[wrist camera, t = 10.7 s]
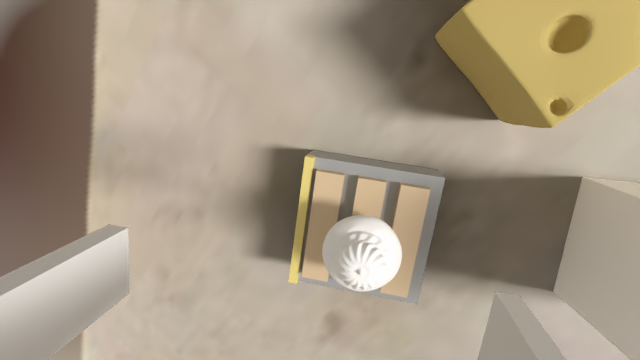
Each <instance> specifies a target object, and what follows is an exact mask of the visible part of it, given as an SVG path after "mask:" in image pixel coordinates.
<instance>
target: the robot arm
mask: <svg viewBox="0 0 640 360" xmlns="http://www.w3.org/2000/svg"><path fill="white" fill-rule="evenodd" d="M128 294H129V250H128V228H127V227H121V226H116V225H110V224H109V225H107V226H105V227H103V228H101V229H99V230H97V231H94V232H92V233H90V234H88V235H86V236H84V237H82V238H80V239H78V240H76V241H74V242H72V243H70V244H68V245H66V246H64V247H62V248H59V249H57V250H56V251H53V252H51V253H49V254H47V255H45V256H43V257H41V258H39V259H37V260H35V261H33V262H31V263H29V264H27V265H25V266H22V267H20V268H18V269H16V270H14V271H12V272H10V273H8V274H6V275H4V276H2V277H0V360H47V359H49V358H50V357H51V356H52V355H54V354H55V353H56V352H57V351H59V350H60V349H61V348H62V347H63V346H65V345H66V344H67V343H69V342H70V341H71V340H72V339H73V338H75V337H76V336H77V335H78V334H80V333H81V332H82V331H83V330H85V329H86V328H87V327H88V326H90V325H91V324H92V323H93V322H95V321H96V320H97V319H98V318H99V317H101V316H102V315H103V314H104V313H106V312H107V311H108V310H109V309H111V308H112V307H113V306H114V305H116V304H117V303H118V302H119V301H121V300H122V299H123V298H124V297H125V296H127V295H128ZM478 360H566V358H565V357H564V356H563V354H562V353H561V351H560V350H559V349H558V347H557V346H556V345H555V343H554V342H553V340H552V339H551V338H550V336H549V335H548V334H547V332H546V331H545V330H544V328H543V327H542V325H541V324H540V323H539V321H538V320H537V319H536V317H535V316H534V314H533V313H532V312H531V310H530V309H529V308H528V306H527V305H526V303H525V302H524V301H523V299H522V298H521V297H520V296H518V295H512V294H506V293H501V292H495V296H494V299H493V303H492V307H491V311H490V314H489V318H488V322H487V326H486V330H485V333H484V337H483V341H482V345H481V348H480V352H479V356H478Z"/></svg>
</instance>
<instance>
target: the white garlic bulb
mask: <svg viewBox="0 0 640 360" xmlns="http://www.w3.org/2000/svg"><path fill="white" fill-rule="evenodd" d="M322 255H323V261H324V264H325V267H326V269H327V271H328V272H329V274H330V275H331V277H332V278H333V279H334V280H335V281H336V282H337V283H339V284H340V285H342V286H343V287H345V288H348V289H351V290H354V291H371V290H375V289H378V288H380V287H382V286H384V285H385V284H387V283H388V282H390V281H391V280H392V279H393V278H394V277H395V275H396V274H397V272H398V270H399V268H400V265H401V261H402V248H401V244H400V242H399V239H398V237H397V235H396V234H395V232H394V231H393V230H392V228H391V227H390V226H389V225H388V224H386V223H385V222H384V221H382V220H381V219H379V218H376V217H373V216H367V215H356V216H351V217H347V218H345V219H342V220H340V221H339V222H337V223H336V224H335V225H334V226H333V227H332V228H331V229H330V230H329V232H328V233H327V235H326V237H325V240H324V243H323V248H322Z"/></svg>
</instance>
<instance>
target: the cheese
mask: <svg viewBox="0 0 640 360" xmlns="http://www.w3.org/2000/svg"><path fill="white" fill-rule="evenodd" d="M435 39H436V41H437V42H438V43H439V45H440V46H441V47H442V49H443V50H444V51H445V53H446V54H447V55H448V56H449V58H450V59H451V60H452V61H453V62H454V63H455V65H456V66H457V67H458V68H459V69H460V70H461V72H462V73H463V74H464V75H465V76H466V77H467V78H468V80H469V81H470V82H471V83H472V84H473V86H474V87H475V88H476V90H477V91H478V92H479V93H480V95H481V96H482V97H483V99H484V100H485V101H486V103H487V104H488V105H489V107H490V108H491V110H492V111H493V112H494V114H495V115H496V116H497V118H498V119H499V120H501V121H503V122H506V123H510V124H514V125H525V126H531V127H540V128H551V127H554V126H556V125H557V124H559V123H560V122H562V121H563V120H564V119H566V118H567V117H569V116H570V115H571V114H573V113H574V112H575V111H577V110H578V109H579V108H581V107H582V106H584V105H585V104H586V103H588V102H589V101H591V100H592V99H594V98H595V97H596V96H598V95H599V94H601V93H602V92H603V91H605V90H606V89H607V88H609V87H610V86H611V85H613V84H614V83H615V82H617V81H618V80H619V79H621V78H622V77H624V76H625V75H626V74H628V73H629V72H631V71H632V70H634V69H635V68H637V67H638V66H640V0H470V1H469V2H468V3H467V4H466V5H464V6H463V7H462V8H461V9H460V10H459V11H458V12H457V13H456V14H455V15H454V16H453V17H452V18H451V19H449V20H448V21H447V22H446V24H445V25H444V26H443V27H442V28H441V29H440V30H439V31H438V32H437V33H436V35H435Z"/></svg>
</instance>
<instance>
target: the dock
mask: <svg viewBox="0 0 640 360" xmlns="http://www.w3.org/2000/svg"><path fill="white" fill-rule="evenodd" d="M444 183H445V177H444V176H443V175H442V174H441V173H440V172H439V171H438V170H437V169H430V168H424V167H418V166H412V165H405V164H399V163H393V162H387V161H380V160H374V159H368V158H362V157H355V156H349V155H343V154H336V153H330V152H324V151H318V150H312V151H311V152H310V153H309V154H307V155H306V156H305V160H304V167H303V175H302V182H301V190H300V198H299V205H298V213H297V220H296V228H295V236H294V243H293V251H292V258H291V266H290V274H289V281H288V282H291V283H296V284H297V282H298V281H302V282H307V283H312V284H317V285H322V286H327V287H332V288H338V289H343V290H348V291H353V292H358V293H363V294H368V295H373V296H378V297H383V298H388V299H393V300H398V301H403V302H408V303H413V304H417V302H418V298H419V293H420V289H421V284H422V280H423V276H424V271H425V267H426V262H427V258H428V253H429V249H430V245H431V240H432V236H433V231H434V227H435V222H436V218H437V214H438V209H439V205H440V200H441V196H442V191H443V187H444ZM356 215H367V216H373V217H376V218H379V219H381V220H382V221H384V222H385V223H386V224H388V225H389V226H390V227H391V228H392V230H393V231H394V232H395V234H396V235H397V237H398V239H399V242H400V244H401V248H402V261H401V265H400V268H399V270H398V272H397V274H396V275H395V277H394V278H393V279H392V280H391V281H390V282H388V283H387V284H385V285H384V286H382V287H380V288H378V289H375V290H371V291H354V290H351V289H348V288H345V287H343V286H342V285H340V284H339V283H337V282H336V281H335V280H334V279H333V278H332V277H331V275H330V274H329V272H328V271H327V269H326V267H325V264H324V261H323V255H322V248H323V243H324V240H325V237H326V235H327V233H328V232H329V230H330V229H331V228H332V227H333V226H334V225H335V224H336V223H337V222H339V221H340V220H342V219H345V218H347V217H351V216H356Z"/></svg>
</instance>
